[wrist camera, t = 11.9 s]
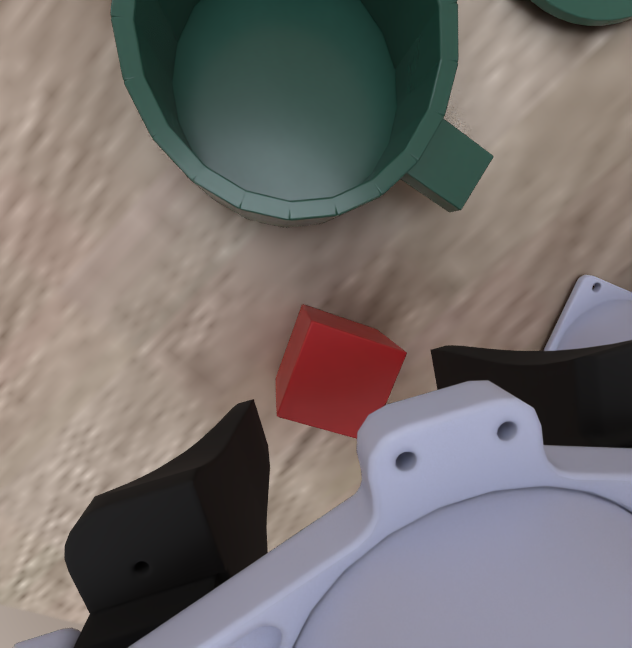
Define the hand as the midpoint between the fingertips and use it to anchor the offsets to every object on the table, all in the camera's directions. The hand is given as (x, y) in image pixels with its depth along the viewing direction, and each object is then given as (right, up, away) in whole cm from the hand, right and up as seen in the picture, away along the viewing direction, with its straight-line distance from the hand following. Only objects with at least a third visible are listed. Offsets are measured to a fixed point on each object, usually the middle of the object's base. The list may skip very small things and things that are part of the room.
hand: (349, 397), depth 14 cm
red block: (-1, +1, +6) cm, 6 cm away
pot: (-3, +13, +3) cm, 14 cm away
